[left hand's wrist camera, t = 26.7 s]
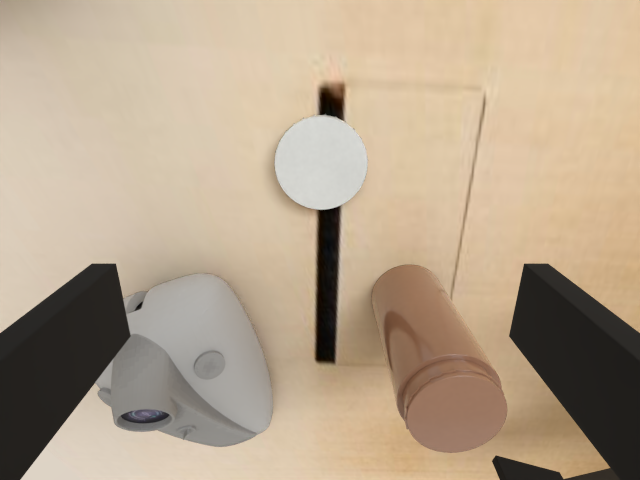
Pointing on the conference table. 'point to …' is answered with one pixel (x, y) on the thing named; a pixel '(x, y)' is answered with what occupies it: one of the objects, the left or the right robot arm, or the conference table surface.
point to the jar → (435, 363)
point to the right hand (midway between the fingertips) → (537, 417)
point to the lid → (321, 162)
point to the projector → (190, 365)
